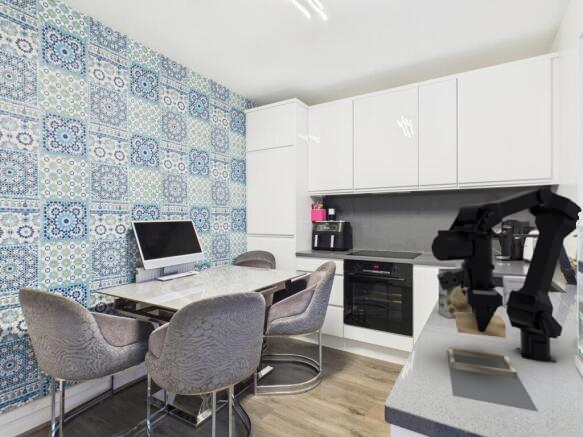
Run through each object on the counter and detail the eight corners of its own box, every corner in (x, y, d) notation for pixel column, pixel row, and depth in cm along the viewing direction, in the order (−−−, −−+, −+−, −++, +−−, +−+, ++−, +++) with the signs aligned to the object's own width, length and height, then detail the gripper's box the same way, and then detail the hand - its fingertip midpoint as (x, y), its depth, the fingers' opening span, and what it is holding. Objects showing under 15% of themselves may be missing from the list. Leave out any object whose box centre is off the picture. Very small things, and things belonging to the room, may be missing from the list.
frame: (448, 352, 78) (448, 347, 78) (507, 360, 73) (507, 355, 73) (451, 368, 69) (451, 362, 69) (517, 378, 64) (517, 372, 65)
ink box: (530, 307, 117) (529, 276, 117) (534, 311, 113) (533, 278, 113) (502, 305, 121) (502, 275, 121) (505, 309, 116) (505, 277, 116)
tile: (499, 328, 72) (499, 315, 72) (505, 337, 67) (505, 323, 67) (455, 324, 76) (455, 311, 76) (458, 332, 70) (457, 319, 70)
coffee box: (447, 318, 106) (446, 271, 106) (438, 313, 112) (437, 268, 112) (474, 318, 106) (473, 270, 106) (463, 312, 112) (462, 268, 113)
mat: (446, 352, 79) (446, 350, 79) (508, 361, 74) (508, 358, 74) (453, 398, 59) (453, 395, 59) (538, 414, 53) (538, 411, 53)
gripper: (437, 253, 83) (439, 312, 83) (440, 262, 66) (441, 336, 66) (486, 254, 79) (488, 316, 79) (502, 264, 62) (504, 344, 61)
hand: (479, 327), depth 71 cm, fingers closed on tile, 6 cm apart
